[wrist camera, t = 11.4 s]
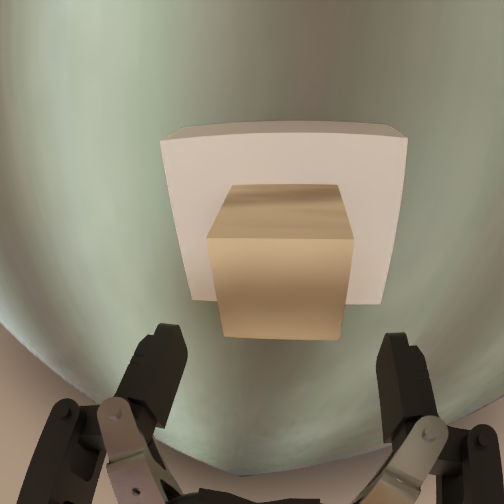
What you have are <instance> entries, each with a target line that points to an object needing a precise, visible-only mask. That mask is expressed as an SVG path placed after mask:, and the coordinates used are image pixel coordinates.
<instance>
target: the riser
mask: <svg viewBox="0 0 504 504" xmlns="http://www.w3.org/2000/svg"><path fill="white" fill-rule="evenodd" d="M407 143H408V138H407V137H406V136H404V135H403V134H401V133H400V132H398V131H397V130H395V129H394V128H392V127H391V126H390V125H385V124H373V123H358V122H337V121H259V122H238V123H223V124H210V125H199V126H189V127H182V128H180V129H178V130H177V131H175V132H173V133H172V134H170V135H168V136H167V137H165V138H164V139H162V140H160V145H161V152H162V158H163V163H164V169H165V175H166V180H167V186H168V191H169V196H170V202H171V207H172V212H173V217H174V222H175V227H176V231H177V236H178V241H179V245H180V250H181V254H182V259H183V263H184V268H185V272H186V276H187V280H188V285H189V289H190V293H191V297H192V300H202V301H217V298H216V292H215V287H214V282H213V276H212V270H211V265H210V259H209V253H208V247H207V241H206V237H207V235H208V233H209V231H210V229H211V227H212V225H213V223H214V221H215V219H216V217H217V215H218V213H219V211H220V208H221V206H222V204H223V202H224V200H225V198H226V196H227V194H228V192H229V190H230V189H231V187H232V185H247V184H331V185H338V188H339V191H340V194H341V197H342V200H343V203H344V206H345V210H346V213H347V216H348V219H349V223H350V226H351V230H352V233H353V236H354V247H353V255H352V263H351V270H350V277H349V284H348V291H347V297H346V303H345V304H380V303H381V299H382V295H383V291H384V287H385V283H386V278H387V274H388V269H389V265H390V260H391V255H392V250H393V245H394V240H395V234H396V229H397V223H398V217H399V210H400V204H401V197H402V190H403V182H404V174H405V164H406V154H407Z"/></svg>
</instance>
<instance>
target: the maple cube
mask: <svg viewBox="0 0 504 504" xmlns="http://www.w3.org/2000/svg"><path fill="white" fill-rule="evenodd" d="M206 241H207V247H208V253H209V259H210V265H211V270H212V276H213V282H214V287H215V292H216V298H217V303H218V308H219V314H220V319H221V324H222V329H223V334H224V337H239V338H259V339H286V340H339V337H340V332H341V326H342V321H343V315H344V309H345V303H346V297H347V291H348V284H349V277H350V270H351V263H352V255H353V247H354V236H353V233H352V230H351V226H350V223H349V219H348V216H347V213H346V210H345V206H344V203H343V200H342V197H341V194H340V191H339V188H338V185H331V184H247V185H232V187H231V189H230V190H229V192H228V194H227V196H226V198H225V200H224V202H223V204H222V206H221V208H220V211H219V213H218V215H217V217H216V219H215V221H214V223H213V225H212V227H211V229H210V231H209V233H208V235H207V237H206Z"/></svg>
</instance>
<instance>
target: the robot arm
mask: <svg viewBox="0 0 504 504" xmlns="http://www.w3.org/2000/svg"><path fill="white" fill-rule="evenodd" d="M187 356H188V352H187V347H186V344H185V341H184V338H183V335H182V332H181V329H180V327H179V325H174V324H164V323H160V324H159V325H158V326H157V328H156V331H155V333H154V335H147V336H146V337H145V338H144V339H143V340H142V341H141V342H140V343H139V344H138V346H137V348H136V350H135V352H134V356H133V357H132V359H131V361H130V364H129V365H128V367H127V369H126V372H125V374H124V376H123V378H122V380H121V383H120V385H119V387H118V389H117V391H116V393H115V395H114V396H113V397H111V398H108V399H106V400H104V401H103V402H102V403H101V404H100V405H94V406H93V405H92V406H79V405H78V404H77V403H76V402H75V401H74V400H72V399H69V398H66V399H62V400H60V401H58V402H57V403H56V404H55V405H54V406H53V408H52V410H51V413H50V415H49V417H48V419H47V422H46V424H45V426H44V429H43V431H42V434H41V436H40V439H39V441H38V444H37V446H36V449H35V451H34V454H33V457H32V459H31V462H30V465H29V467H28V470H27V473H26V476H25V479H24V482H23V485H22V488H21V491H20V494H19V497H18V500H17V504H92V500H93V496H94V493H95V489H96V486H97V482H98V478H99V475H100V472H101V469H102V465H103V462H104V458H105V456H106V452H107V453H108V457H109V463H107V466H106V468H107V473H108V476H109V479H110V482H111V484H112V487H113V490H114V493H115V495H116V498H117V501H118V504H321V503H320V499H292V498H289V499H283V500H278V501H271V502H264V503H255V502H252V501H249V500H247V499H244V498H241V497H238V496H236V495H233V494H230V493H227V492H220V491H214V490H209V489H203V488H199V492H198V493H197V492H196V493H189V494H185V495H183V493H182V491H181V489H180V487H179V485H178V484H177V482H176V480H175V479H174V477H173V476H172V474H171V473H170V471H169V469H168V467H167V465H166V462H165V460H164V458H163V456H162V454H161V451H160V449H159V447H158V444H157V442H156V440H155V437H154V435H153V433H154V430H155V427H159V428H163V429H165V426H166V423H167V419H168V416H169V413H170V410H171V407H172V404H173V401H174V398H175V395H176V392H177V389H178V386H179V383H180V380H181V377H182V374H183V371H184V368H185V365H186V362H187ZM376 373H377V381H378V389H379V398H380V407H381V417H382V429H383V442H384V443H392V449H393V451H392V452H391V453H390V455H389V456H388V457H387V459H386V460H385V462H384V463H383V465H382V466H381V467H380V469H379V470H378V471H377V473H376V474H375V475H374V477H373V478H372V479H371V480H370V482H369V483H368V484H367V486H366V487H365V488H364V489H363V490H362V491H361V492H360V493H359V495H358V496H357V497H356V498H355V499H354V500H353V501H352V502H351V503H350V504H414V503H415V501H416V500H417V498H418V496H419V495H420V492H421V489H420V488H421V485H422V483H423V482H424V480H425V479H426V477H427V475H428V474H432V475H436V499H437V500H436V501H437V502H436V504H504V485H503V474H502V465H501V457H500V450H499V443H498V437H497V434H496V432H495V430H494V429H493V428H492V427H491V426H489V425H486V424H480V425H477V426H475V427H474V428H473V429H472V430H466V429H459V428H453V427H450V426H448V425H446V423H445V422H444V421H443V420H442V419H441V418H440V417H439V415H438V413H437V409H436V404H435V399H434V395H433V390H432V386H431V381H430V379H429V373H428V370H427V365H426V361H425V357H424V355H423V354H422V352H421V351H420V349H419V348H418V347H417V345H416V346H409V344H408V340H407V336H406V334H405V333H404V332H402V333H386V334H385V336H384V339H383V342H382V345H381V348H380V351H379V353H378V356H377V361H376Z"/></svg>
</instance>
